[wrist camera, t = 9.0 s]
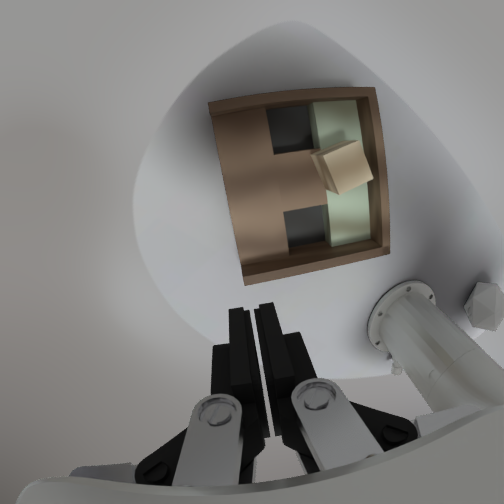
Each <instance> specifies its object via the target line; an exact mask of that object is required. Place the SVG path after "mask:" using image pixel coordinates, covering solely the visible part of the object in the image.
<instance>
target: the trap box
mask: <svg viewBox="0 0 504 504" xmlns="http://www.w3.org/2000/svg"><path fill="white" fill-rule="evenodd" d="M208 106H209V112H210V115H211V118H212V123H213V128H214V134H215V139H216V144H217V149H218V154H219V159H220V164H221V170H222V175H223V180H224V185H225V190H226V195H227V200H228V205H229V209H230V214H231V219H232V224H233V229H234V234H235V239H236V244H237V248H238V253H239V258H240V263H241V268H242V275H243V280H244V285H245V286H247V285H252V284H257V283H262V282H266V281H271V280H276V279H281V278H286V277H290V276H295V275H300V274H304V273H309V272H313V271H318V270H323V269H327V268H331V267H336V266H340V265H345V264H349V263H353V262H358V261H362V260H366V259H370V258H375V257H379V256H383V255H387V254H390V213H389V193H388V179H387V167H386V157H385V148H384V140H383V133H382V126H381V119H380V113H379V107H378V101H377V96H376V91H375V87H334V88H314V89H300V90H289V91H279V92H270V93H262V94H255V95H248V96H242V97H236V98H230V99H224V100H219V101H214V102H209V103H208ZM347 140H359V141H360V144H361V146H362V149H363V152H364V154H365V157H366V159H367V162H368V165H369V167H370V170H371V173H372V176H373V179H372V180H370V181H368V182H366V183H363V184H361V185H359V186H357V187H355V188H353V189H351V190H349V191H347V192H345V193H343V194H341V195H338V194H336V193H333V192H331V191H329V190H326V189H325V187H324V185H323V182H322V180H321V178H320V175H319V173H318V171H317V168H316V166H315V164H314V161H313V159H312V157H311V154H313V153H315V152H318V151H320V150H322V149H324V148H327V147H329V146H331V145H334V144H336V143H338V142H341V141H347Z"/></svg>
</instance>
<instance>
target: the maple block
mask: <svg viewBox="0 0 504 504" xmlns="http://www.w3.org/2000/svg"><path fill="white" fill-rule="evenodd" d="M311 157H312V159H313V161H314V164H315V166H316V168H317V171H318V173H319V175H320V178H321V180H322V182H323V185H324V187H325V189H326V190H329V191H331V192H333V193H336V194H338V195H341V194H343V193H345V192H347V191H349V190H351V189H353V188H355V187H357V186H359V185H361V184H363V183H366V182H368V181H370V180H372V179H373V176H372V173H371V170H370V167H369V165H368V162H367V159H366V157H365V154H364V152H363V149H362V146H361V144H360V141H359V140H347V141H341V142H338V143H336V144H334V145H331V146H329V147H327V148H324V149H322V150H320V151H318V152H315V153H313V154H311Z"/></svg>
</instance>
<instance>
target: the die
mask: <svg viewBox="0 0 504 504" xmlns="http://www.w3.org/2000/svg"><path fill="white" fill-rule="evenodd" d="M464 309H465V311H466V313H467V315H468V318H469V320H470V322H471V325H472V327H476V328H481V329H485V330H490V331H496V330H497V328H498V326H499V325H500V323H501V321H502V320H503V318H504V294H503V292H502V291H501V289H500V287H499V286H498V285H497V284H492V283H483V282H477V284H476V286H475V288H474V289H473V291H472V293H471V295H470V297H469V298H468V300H467V302H466V304H465V305H464Z"/></svg>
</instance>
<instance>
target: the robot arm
mask: <svg viewBox="0 0 504 504" xmlns="http://www.w3.org/2000/svg"><path fill="white" fill-rule="evenodd" d="M254 313H255V319H256V325H257V332H258V338H259V344H260V350H261V356H262V362H263V368H264V373H265V379H266V385H267V391H268V397H269V402H270V408H271V414H272V420H273V426H274V431H275V436H280V435H282V440H283V443H284V445H286V446H288V447H289V448H291V449H293V450H295V451H296V456H297V458H298V460H299V462H300V464H301V467H302V469H303V471H304V474H305V475H302V476H298V477H292V478H287V479H281V480H274V481H267V482H260V483H255V477H256V465H257V464H256V463H257V460H256V456H257V455H258V454H259V453H260V452H261V451H262V450H263V449H264V446H265V440H264V438H267V437H270V432H269V426H268V420H267V413H266V407H265V401H264V396H263V388H262V382H261V375H260V369H259V363H258V357H257V351H256V346H255V340H254V334H253V328H252V323H251V317H250V311H249V310H246V311H244V309H243V307H240V308H234V309H229V343H228V344H220V345H214V346H213V353H212V354H213V355H212V375H211V376H212V377H211V395H210V396H207V397H205V398H203V399H202V400H200V401H199V402H198V403H197V404H196V405H195V407H194V409H193V411H192V415H191V418H190V422H189V426H188V427H187V428H186V429H185V430H184V431H182V432H181V433H179V434H178V435H177V436H175V437H174V438H173V439H171V440H170V441H169V442H167V443H166V444H164V445H163V446H162V447H160V448H159V449H157V450H156V451H155V452H153V453H152V454H150V455H149V456H148V457H146V458H145V459H143V460H142V461H141V462H140V463H139V464H138V465H133V464H132V463H123V464H112V465H99V466H82V467H77V468H76V469H74V470H73V471H72V472H71V473H70V475H69V476H68V477H67V476H66V477H65V476H62V477H51V478H44V479H40V480H37V481H33V482H32V483H30V484H28V485H27V486H26V487H25V488H24V489H23V491H22V492H21V494H20V495H19V497H18V499H17V501H16V504H504V369H503V368H502V367H501V366H499V365H498V364H497V363H496V362H495V361H494V360H493V359H492V358H491V357H490V356H489V355H488V354H487V353H486V352H485V351H484V350H483V349H482V348H481V347H480V346H479V345H478V344H476V342H475V341H473V340H472V339H471V338H470V337H469V336H468V335H467V334H466V333H465V332H464V331H463V330H462V329H461V328H460V327H459V326H458V325H456V324H455V323H454V322H453V321H452V320H451V319H450V318H449V317H448V316H447V315H445V314H444V313H443V312H442V311H441V310H440V309H439V308H438V307H437V306H436V300H435V295H434V292H433V291H432V289H431V288H430V287H429V286H428V285H426V284H425V283H423V282H421V281H407V282H404V283H402V284H399V285H397V286H396V287H394V288H393V289H391V290H390V291H389V292H388V293H386V294H385V295H384V296H383V297H382V299H381V300H380V301H379V302H378V304H377V305H376V307H375V308H374V310H373V312H372V314H371V316H370V319H369V323H368V336H369V340H370V341H371V343H372V344H373V346H374V347H375V348H376V349H378V350H380V351H383V352H390V353H391V355H392V359H393V361H394V362H393V365H392V370H391V372H392V374H394V375H400V374H401V373H402V369H403V370H404V371H405V372H406V374H407V375H408V377H409V378H410V379H411V381H412V382H413V383H414V385H415V387H416V388H417V389H418V391H419V392H420V394H421V395H422V397H423V398H424V399H425V401H426V402H427V404H428V406H429V407H430V408H431V410H432V411H433V412H434V413H430V414H426V415H421V416H417V417H416V418H415V420H411V421H409V420H407V419H405V418H403V417H399V416H395V415H392V414H389V413H385V412H382V411H378V410H375V409H372V408H369V407H366V406H363V405H360V404H357V403H354V402H351V401H349V400H348V399H347V398H346V396H345V395H344V393H343V392H342V390H341V389H340V387H339V386H338V385H337V384H336V383H334V382H332V381H330V380H328V379H323V378H317V376H316V373H315V370H314V368H313V365H312V362H311V360H310V357H309V354H308V352H307V349H306V346H305V344H304V341H303V339H302V336H301V334H300V332H295V333H290V334H284V335H283V334H282V330H281V327H280V324H279V320H278V317H277V313H276V310H275V307H274V303H273V302H271V303H265V304H259V308H258V309H254Z"/></svg>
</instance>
